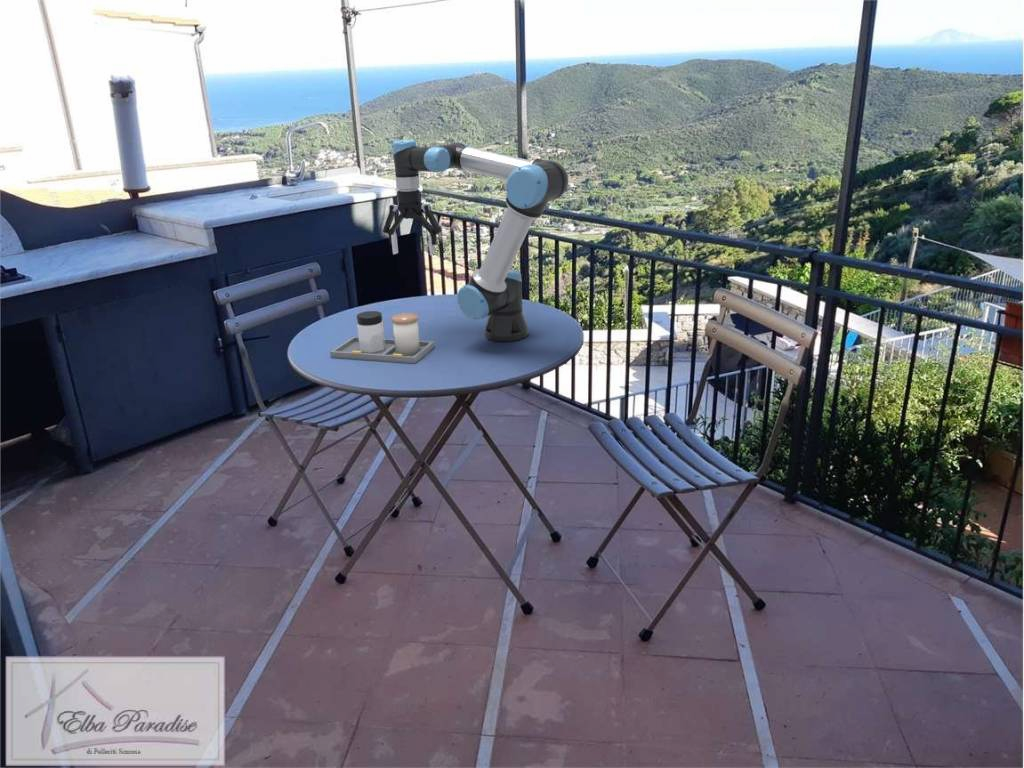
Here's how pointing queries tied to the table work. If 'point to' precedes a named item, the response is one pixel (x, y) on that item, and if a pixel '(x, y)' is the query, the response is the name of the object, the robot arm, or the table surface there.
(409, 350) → the white jar with lid
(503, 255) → the robot arm
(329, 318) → the table surface
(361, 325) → the jar
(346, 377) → the table surface
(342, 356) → the divided grey tray
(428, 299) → the table surface
